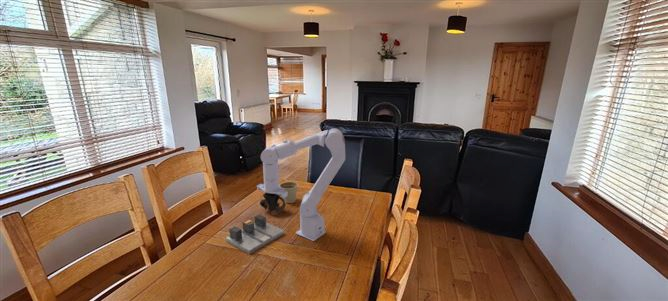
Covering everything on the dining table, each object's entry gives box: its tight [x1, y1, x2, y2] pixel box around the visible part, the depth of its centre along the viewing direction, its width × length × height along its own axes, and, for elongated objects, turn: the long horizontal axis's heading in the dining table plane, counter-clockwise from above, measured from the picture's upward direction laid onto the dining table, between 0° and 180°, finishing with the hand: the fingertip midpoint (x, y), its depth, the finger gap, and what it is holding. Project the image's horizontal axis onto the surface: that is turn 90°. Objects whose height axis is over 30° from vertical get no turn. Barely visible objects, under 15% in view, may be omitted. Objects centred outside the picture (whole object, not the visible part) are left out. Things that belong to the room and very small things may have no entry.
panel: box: [225, 214, 285, 255], centre depth 112 cm, size 14×17×5 cm
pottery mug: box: [259, 196, 287, 217], centre depth 133 cm, size 12×10×8 cm
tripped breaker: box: [242, 219, 255, 233], centre depth 114 cm, size 4×2×4 cm, turn 54°
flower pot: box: [279, 181, 299, 204], centre depth 144 cm, size 9×9×9 cm
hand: (273, 209), depth 114 cm, fingers closed
